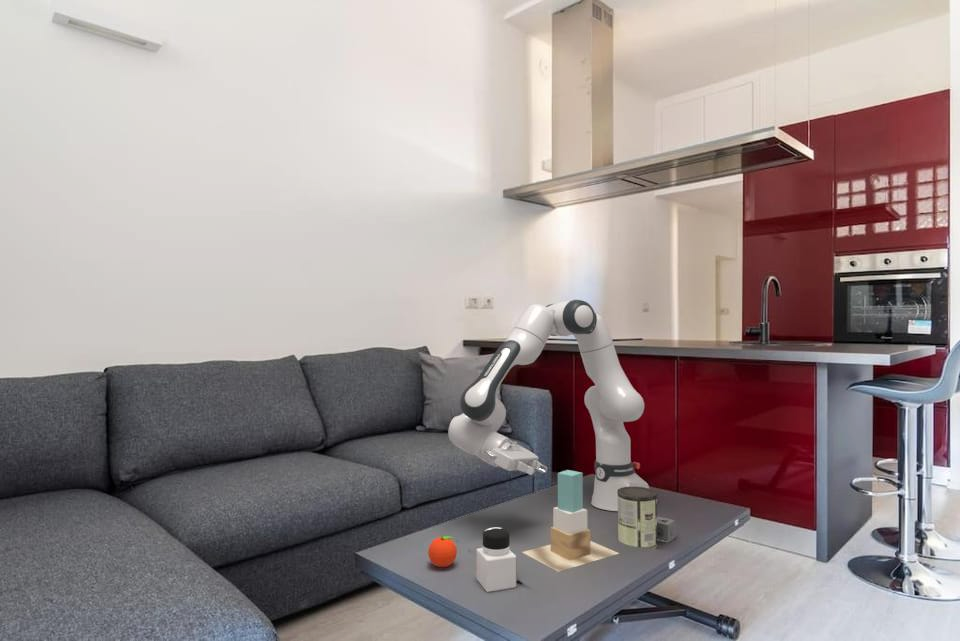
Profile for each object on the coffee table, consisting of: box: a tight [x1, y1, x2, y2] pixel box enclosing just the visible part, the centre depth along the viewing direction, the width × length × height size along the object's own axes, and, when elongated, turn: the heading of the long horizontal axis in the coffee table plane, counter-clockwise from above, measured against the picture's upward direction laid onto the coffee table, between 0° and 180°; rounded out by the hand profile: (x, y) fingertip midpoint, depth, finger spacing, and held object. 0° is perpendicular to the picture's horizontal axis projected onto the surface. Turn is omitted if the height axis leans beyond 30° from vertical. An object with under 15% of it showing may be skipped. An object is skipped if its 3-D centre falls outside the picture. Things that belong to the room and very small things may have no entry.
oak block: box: [550, 526, 591, 560], centre depth 144 cm, size 7×7×6 cm
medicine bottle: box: [476, 527, 517, 593], centre depth 129 cm, size 7×7×12 cm
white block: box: [552, 506, 588, 535], centre depth 144 cm, size 6×6×5 cm
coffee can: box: [617, 487, 658, 549], centre depth 152 cm, size 10×10×14 cm
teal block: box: [557, 469, 584, 513], centre depth 144 cm, size 4×4×9 cm
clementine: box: [427, 535, 458, 568], centre depth 139 cm, size 8×7×7 cm
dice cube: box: [657, 516, 676, 541], centre depth 156 cm, size 5×5×5 cm
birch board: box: [521, 540, 620, 573], centre depth 143 cm, size 20×14×1 cm
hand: (539, 471), depth 155 cm, fingers open, 8 cm apart
